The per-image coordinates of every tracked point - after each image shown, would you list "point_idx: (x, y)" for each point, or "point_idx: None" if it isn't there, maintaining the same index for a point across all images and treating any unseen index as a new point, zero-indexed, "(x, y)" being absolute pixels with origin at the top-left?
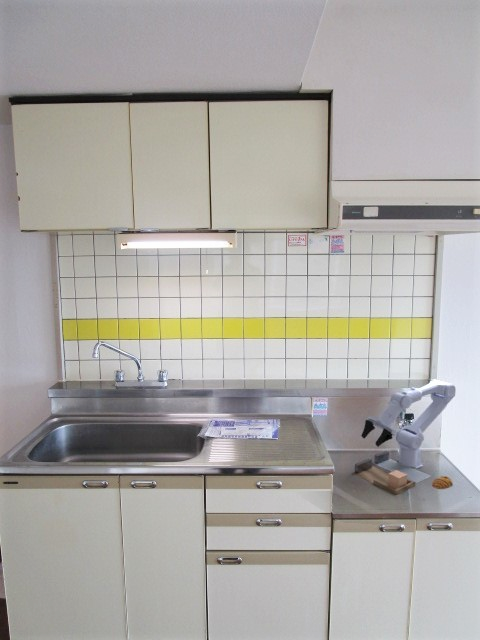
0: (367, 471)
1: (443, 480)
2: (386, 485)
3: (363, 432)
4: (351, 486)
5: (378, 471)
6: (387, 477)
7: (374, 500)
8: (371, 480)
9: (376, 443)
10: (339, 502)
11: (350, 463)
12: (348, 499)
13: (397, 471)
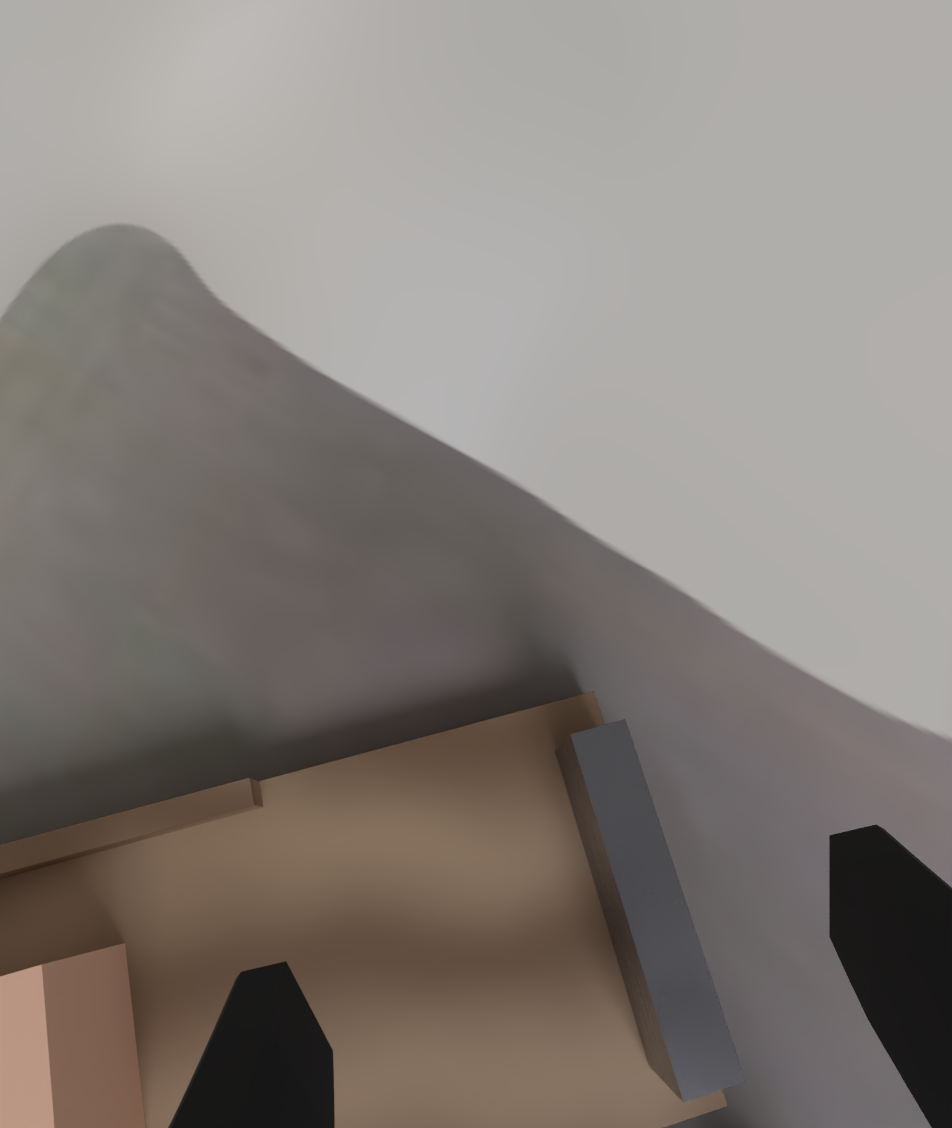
0: (564, 920)
1: None
2: (132, 917)
3: (936, 916)
4: (378, 560)
5: (513, 1092)
6: None
7: (30, 614)
8: (327, 807)
9: (240, 990)
10: (174, 306)
11: None
12: (177, 399)
13: None
